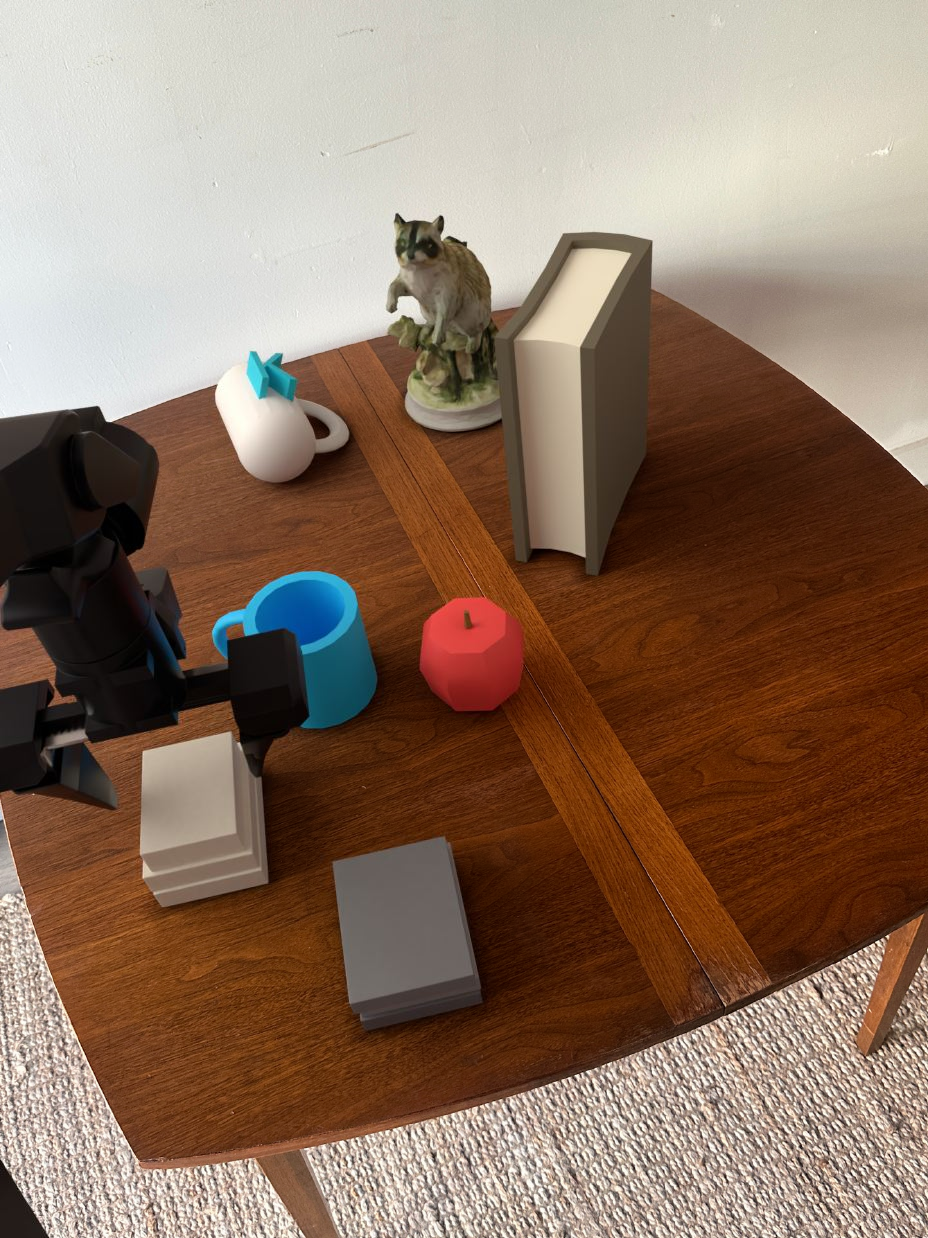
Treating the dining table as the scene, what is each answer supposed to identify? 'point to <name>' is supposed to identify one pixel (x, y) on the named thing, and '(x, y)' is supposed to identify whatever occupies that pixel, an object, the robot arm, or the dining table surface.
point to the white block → (191, 802)
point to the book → (576, 393)
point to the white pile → (220, 858)
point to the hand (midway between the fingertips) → (187, 787)
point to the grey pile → (405, 934)
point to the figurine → (445, 329)
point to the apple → (472, 654)
